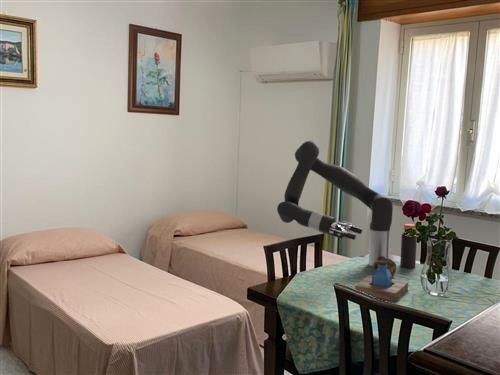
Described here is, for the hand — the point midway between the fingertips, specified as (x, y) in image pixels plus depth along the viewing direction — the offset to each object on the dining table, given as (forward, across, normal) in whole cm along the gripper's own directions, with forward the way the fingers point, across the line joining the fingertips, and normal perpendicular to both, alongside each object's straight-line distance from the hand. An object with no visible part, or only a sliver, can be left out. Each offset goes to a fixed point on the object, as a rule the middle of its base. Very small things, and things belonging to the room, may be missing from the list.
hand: (358, 234), depth 202 cm
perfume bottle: (+15, -5, +18) cm, 24 cm away
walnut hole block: (+15, -5, +19) cm, 24 cm away
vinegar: (+17, +38, +22) cm, 47 cm away
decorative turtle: (+11, +17, +22) cm, 30 cm away
